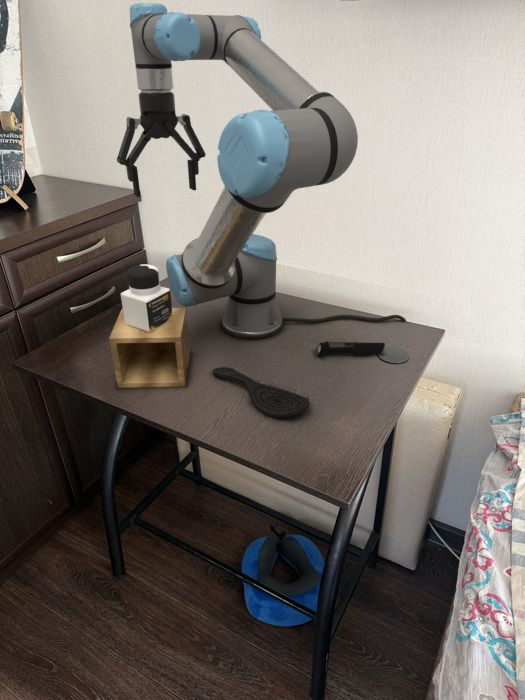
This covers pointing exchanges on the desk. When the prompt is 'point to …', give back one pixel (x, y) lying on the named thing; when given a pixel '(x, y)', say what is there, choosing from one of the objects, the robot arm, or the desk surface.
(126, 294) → the medicine bottle
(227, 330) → the robot arm
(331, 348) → the electric trimmer
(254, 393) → the hairbrush
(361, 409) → the desk surface
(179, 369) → the shelf
